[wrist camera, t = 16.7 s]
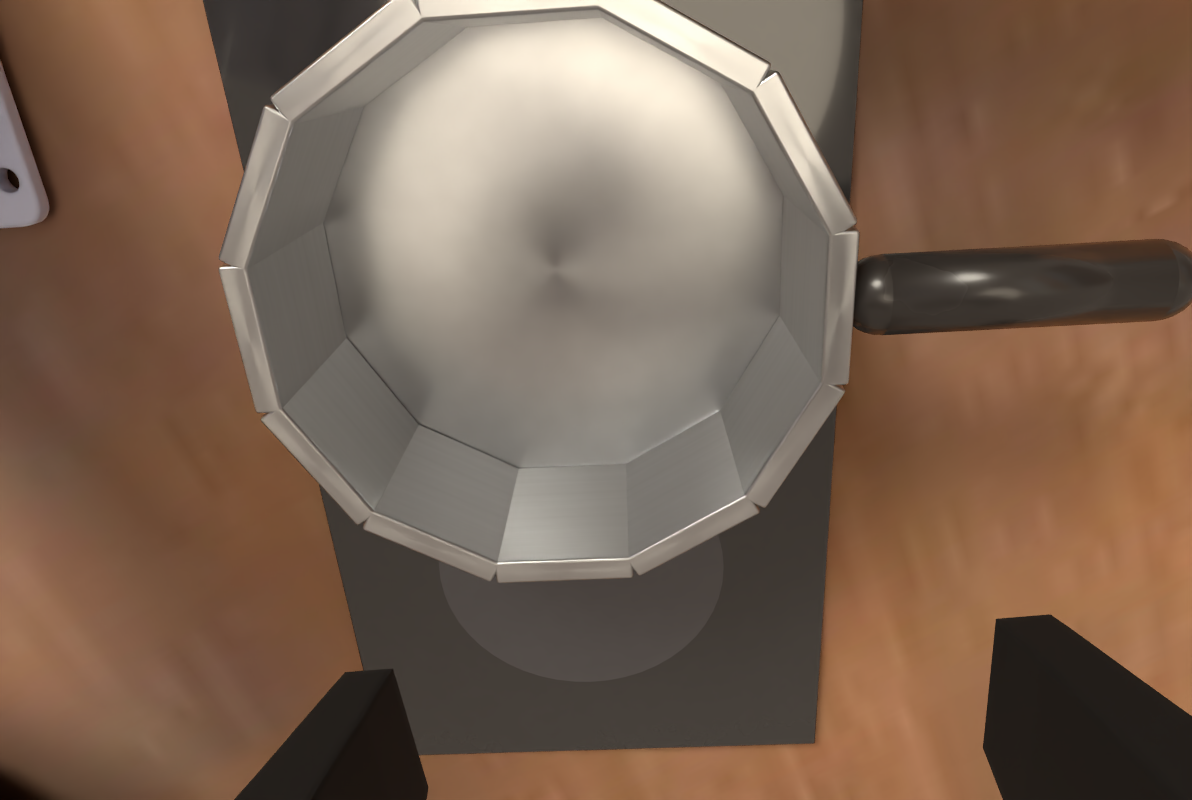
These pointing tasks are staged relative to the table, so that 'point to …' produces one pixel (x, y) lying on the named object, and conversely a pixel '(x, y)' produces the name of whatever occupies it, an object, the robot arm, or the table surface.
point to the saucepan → (581, 282)
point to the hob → (643, 602)
